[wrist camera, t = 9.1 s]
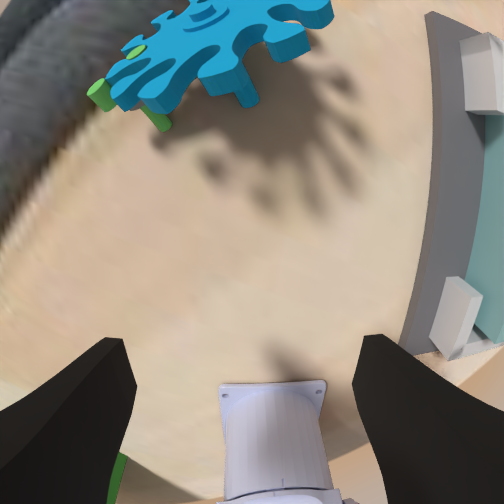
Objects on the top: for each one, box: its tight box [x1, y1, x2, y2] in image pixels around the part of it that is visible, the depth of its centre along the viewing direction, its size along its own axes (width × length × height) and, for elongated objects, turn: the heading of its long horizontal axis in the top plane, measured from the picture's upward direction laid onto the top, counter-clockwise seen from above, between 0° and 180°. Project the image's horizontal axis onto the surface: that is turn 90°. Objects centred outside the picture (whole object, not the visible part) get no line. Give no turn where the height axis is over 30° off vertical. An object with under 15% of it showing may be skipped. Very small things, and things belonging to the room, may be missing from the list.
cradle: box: [398, 11, 504, 361], centre depth 14 cm, size 24×11×4 cm, turn 0°
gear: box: [87, 0, 334, 132], centre depth 12 cm, size 11×6×10 cm
